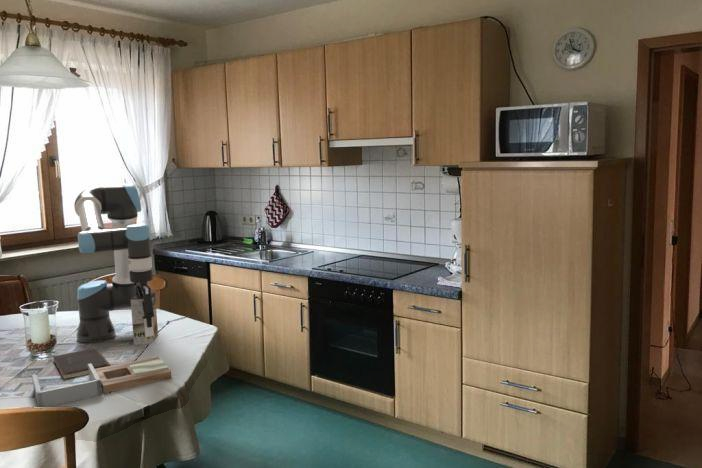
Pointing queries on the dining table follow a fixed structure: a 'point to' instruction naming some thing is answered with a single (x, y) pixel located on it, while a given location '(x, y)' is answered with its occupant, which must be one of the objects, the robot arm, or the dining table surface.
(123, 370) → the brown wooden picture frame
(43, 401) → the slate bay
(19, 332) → the dining table surface
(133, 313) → the coffee box
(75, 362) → the hardcover book
